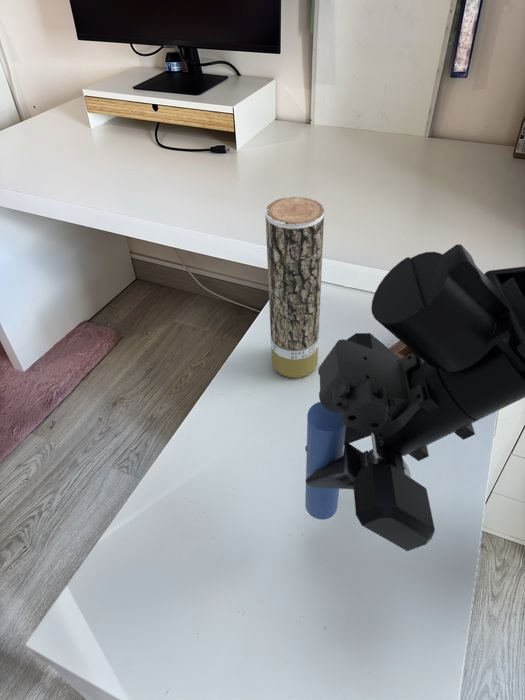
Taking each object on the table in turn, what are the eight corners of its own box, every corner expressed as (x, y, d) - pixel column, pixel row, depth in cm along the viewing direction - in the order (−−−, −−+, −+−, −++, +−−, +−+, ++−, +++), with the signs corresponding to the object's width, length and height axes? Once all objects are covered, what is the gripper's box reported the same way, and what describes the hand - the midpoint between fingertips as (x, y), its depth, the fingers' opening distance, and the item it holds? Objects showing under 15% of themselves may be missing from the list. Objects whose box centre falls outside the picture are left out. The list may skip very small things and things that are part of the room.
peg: (343, 509, 50) (355, 420, 41) (317, 525, 49) (322, 437, 39) (324, 485, 52) (331, 395, 43) (299, 500, 51) (299, 411, 42)
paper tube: (321, 352, 77) (329, 199, 60) (311, 384, 72) (316, 228, 55) (279, 345, 79) (274, 194, 62) (266, 375, 74) (257, 221, 57)
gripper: (376, 254, 41) (250, 352, 50) (412, 438, 28) (231, 530, 36) (454, 327, 46) (327, 405, 54) (518, 515, 32) (336, 581, 41)
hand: (308, 467), depth 46 cm, fingers closed on peg, 3 cm apart
